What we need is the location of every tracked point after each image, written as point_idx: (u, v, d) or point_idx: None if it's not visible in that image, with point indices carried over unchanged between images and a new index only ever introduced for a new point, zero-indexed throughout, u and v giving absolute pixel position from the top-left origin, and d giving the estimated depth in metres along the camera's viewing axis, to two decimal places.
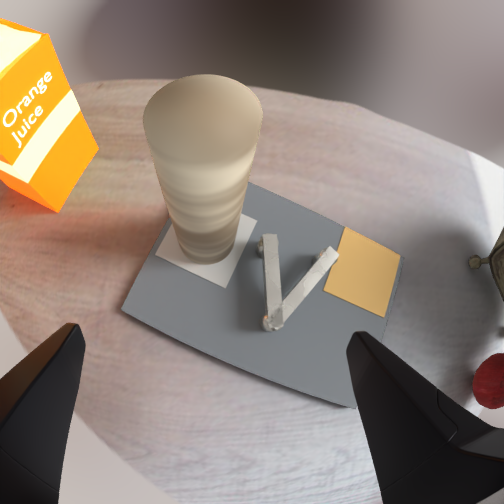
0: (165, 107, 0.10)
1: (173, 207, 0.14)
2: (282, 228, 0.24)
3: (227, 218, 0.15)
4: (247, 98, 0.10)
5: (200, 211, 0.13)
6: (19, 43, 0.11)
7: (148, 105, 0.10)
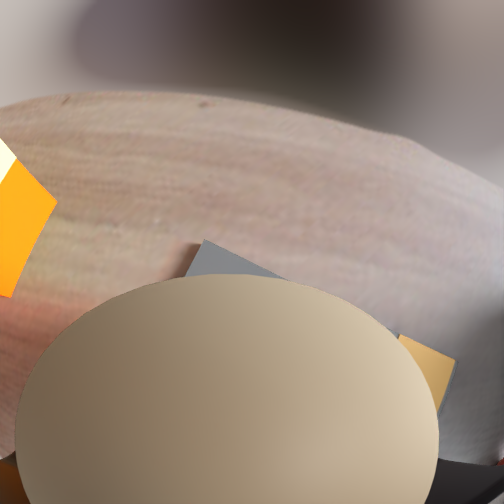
0: (84, 480, 0.02)
1: None
2: None
3: None
4: (406, 418, 0.02)
5: None
6: None
7: (20, 443, 0.02)
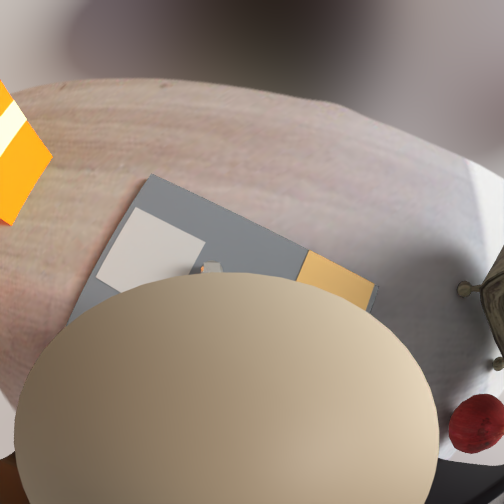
0: (83, 480, 0.02)
1: None
2: (233, 251, 0.22)
3: None
4: (406, 417, 0.02)
5: None
6: None
7: (20, 442, 0.02)
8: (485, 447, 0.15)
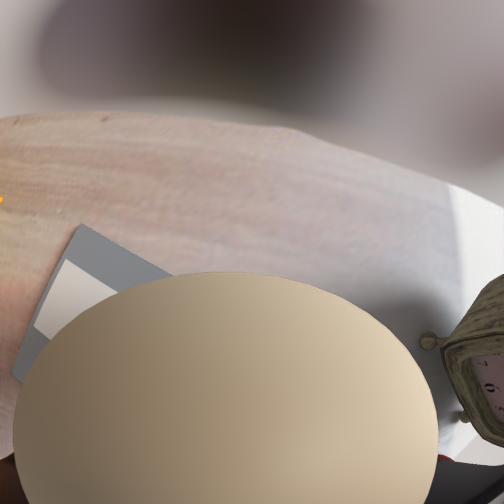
0: (81, 479, 0.02)
1: None
2: None
3: None
4: (406, 417, 0.02)
5: None
6: None
7: (18, 442, 0.02)
8: None
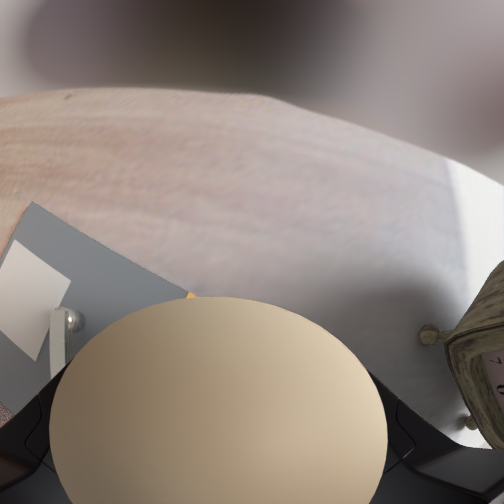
0: (105, 451, 0.03)
1: None
2: (98, 292, 0.16)
3: None
4: (355, 409, 0.03)
5: None
6: None
7: (54, 426, 0.03)
8: None
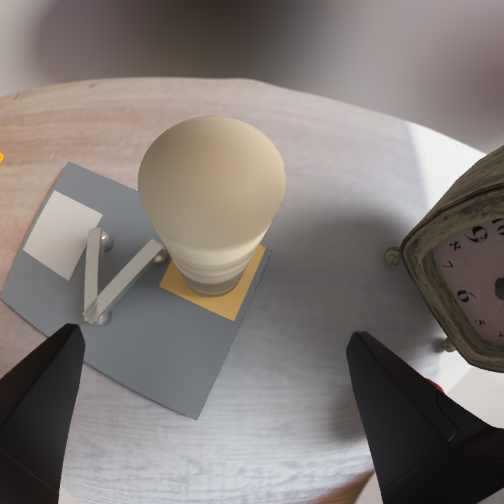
0: (165, 167, 0.08)
1: (179, 264, 0.13)
2: (125, 220, 0.22)
3: (238, 272, 0.14)
4: (266, 152, 0.09)
5: (209, 273, 0.12)
6: None
7: (143, 163, 0.08)
8: None
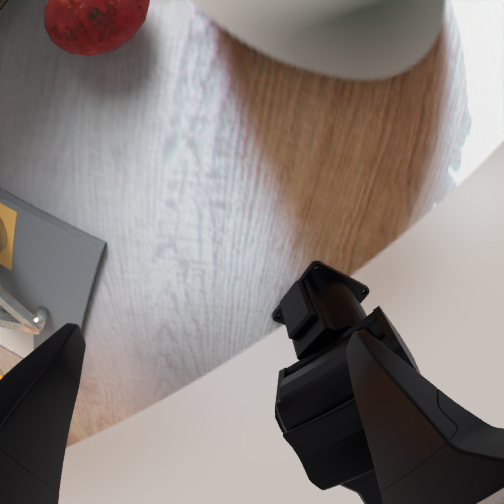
0: None
1: None
2: None
3: None
4: None
5: None
6: None
7: None
8: (108, 8, 0.09)
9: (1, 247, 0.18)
